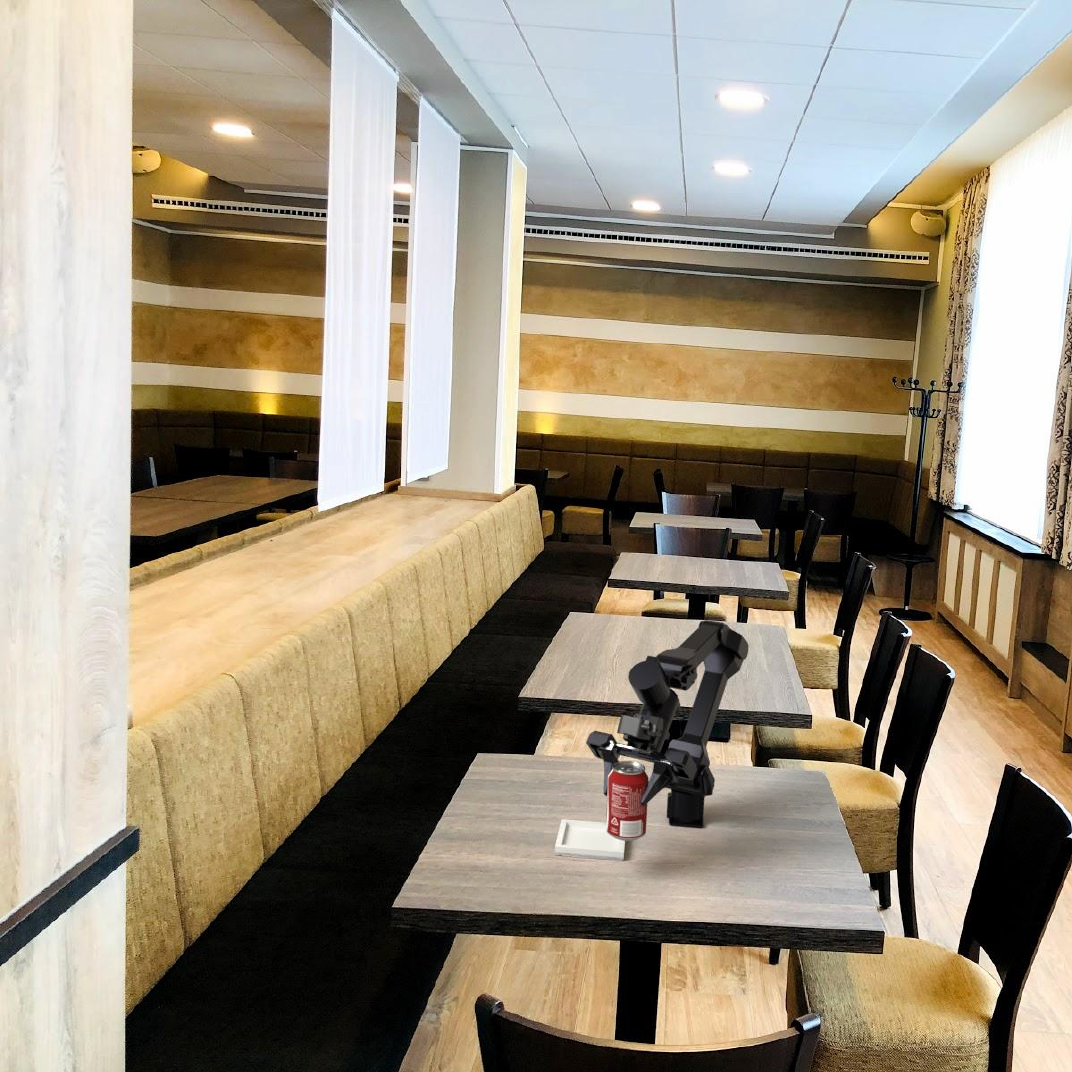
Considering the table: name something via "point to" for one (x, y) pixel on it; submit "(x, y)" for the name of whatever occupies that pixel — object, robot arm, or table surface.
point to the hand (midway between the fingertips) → (623, 799)
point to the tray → (588, 841)
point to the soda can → (626, 801)
